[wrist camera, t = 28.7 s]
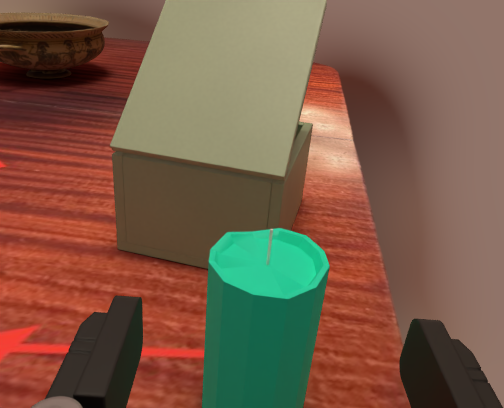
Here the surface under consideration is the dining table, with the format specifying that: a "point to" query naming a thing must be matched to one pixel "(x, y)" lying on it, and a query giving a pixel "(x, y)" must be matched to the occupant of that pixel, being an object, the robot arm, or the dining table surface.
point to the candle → (262, 318)
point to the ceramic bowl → (49, 42)
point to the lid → (223, 84)
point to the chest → (200, 203)
